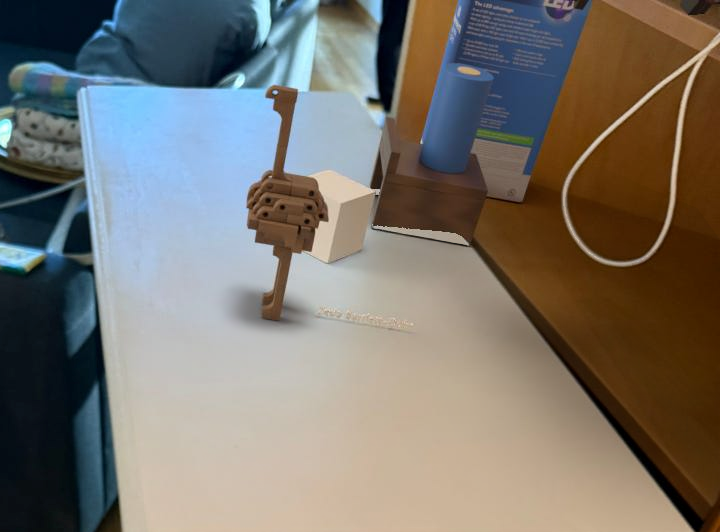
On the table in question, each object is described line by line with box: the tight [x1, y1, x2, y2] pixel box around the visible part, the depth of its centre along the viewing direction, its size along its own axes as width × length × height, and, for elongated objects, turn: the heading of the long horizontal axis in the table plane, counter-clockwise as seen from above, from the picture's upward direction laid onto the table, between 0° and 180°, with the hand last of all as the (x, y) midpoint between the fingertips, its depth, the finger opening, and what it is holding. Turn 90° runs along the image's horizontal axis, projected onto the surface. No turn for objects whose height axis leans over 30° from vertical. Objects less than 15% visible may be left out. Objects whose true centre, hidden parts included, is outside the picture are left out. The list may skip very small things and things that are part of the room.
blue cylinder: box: [419, 63, 494, 174], centre depth 98 cm, size 5×5×9 cm
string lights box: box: [420, 0, 594, 203], centre depth 106 cm, size 13×8×26 cm, turn 86°
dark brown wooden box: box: [369, 116, 488, 245], centre depth 103 cm, size 11×11×8 cm
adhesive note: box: [302, 169, 376, 264], centre depth 94 cm, size 6×6×6 cm
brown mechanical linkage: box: [245, 84, 415, 331], centre depth 79 cm, size 17×7×18 cm, turn 88°
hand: (629, 8), depth 75 cm, fingers open, 8 cm apart
